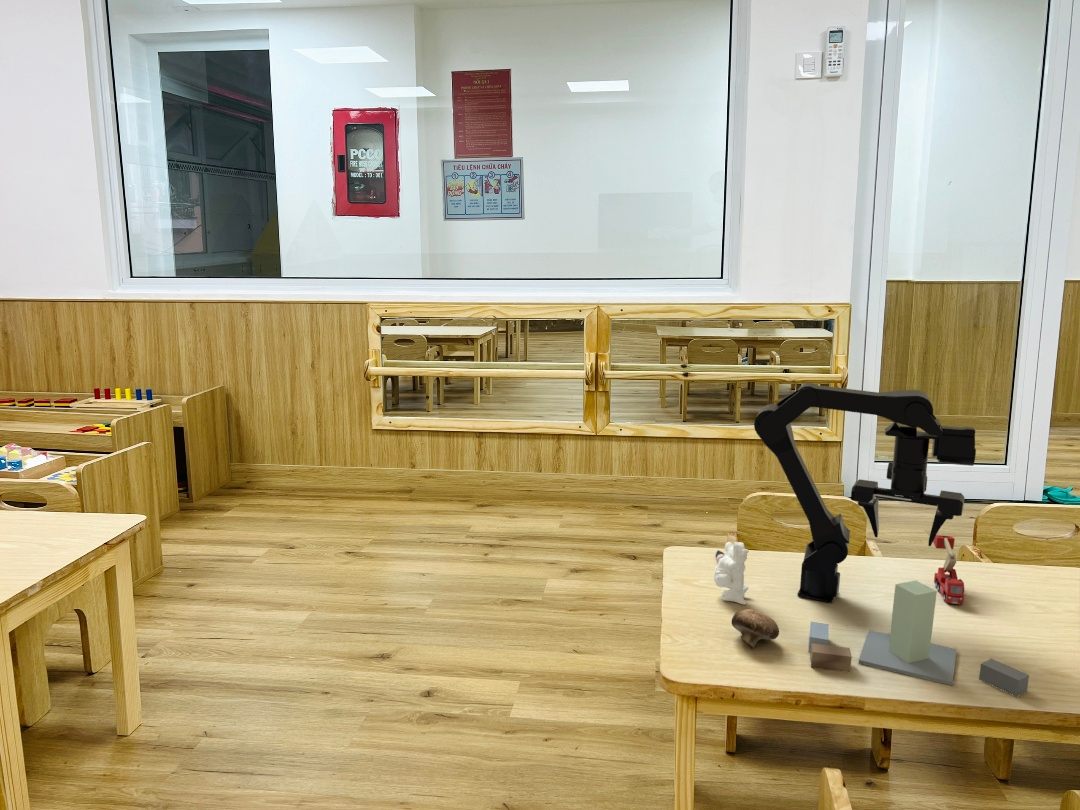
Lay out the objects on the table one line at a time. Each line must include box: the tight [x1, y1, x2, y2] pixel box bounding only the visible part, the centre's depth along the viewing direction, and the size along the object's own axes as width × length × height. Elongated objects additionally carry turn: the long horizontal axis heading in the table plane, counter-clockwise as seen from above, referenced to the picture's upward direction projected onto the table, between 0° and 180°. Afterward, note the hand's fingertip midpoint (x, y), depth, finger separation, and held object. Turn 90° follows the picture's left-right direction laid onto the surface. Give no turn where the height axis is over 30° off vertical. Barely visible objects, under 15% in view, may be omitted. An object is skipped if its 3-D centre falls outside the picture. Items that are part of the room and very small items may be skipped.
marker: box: [715, 549, 726, 564], centre depth 177 cm, size 15×2×2 cm, turn 178°
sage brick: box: [888, 580, 938, 663], centre depth 141 cm, size 4×4×12 cm
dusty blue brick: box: [807, 620, 830, 654], centre depth 146 cm, size 6×3×3 cm, turn 161°
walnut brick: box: [809, 643, 853, 673], centre depth 139 cm, size 6×3×3 cm, turn 76°
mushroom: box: [731, 608, 780, 649], centre depth 146 cm, size 8×8×6 cm
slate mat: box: [858, 629, 957, 686], centre depth 142 cm, size 14×12×1 cm
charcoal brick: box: [978, 658, 1030, 698], centre depth 134 cm, size 6×3×3 cm, turn 34°
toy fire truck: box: [932, 534, 965, 605], centre depth 167 cm, size 3×14×10 cm, turn 168°
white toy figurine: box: [713, 541, 750, 606], centre depth 162 cm, size 8×7×12 cm
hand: (902, 541), depth 158 cm, fingers open, 9 cm apart
